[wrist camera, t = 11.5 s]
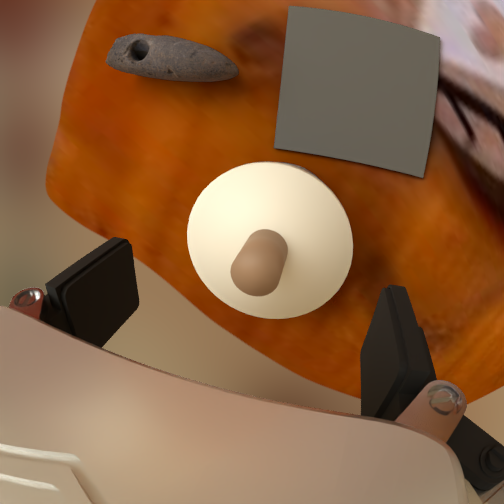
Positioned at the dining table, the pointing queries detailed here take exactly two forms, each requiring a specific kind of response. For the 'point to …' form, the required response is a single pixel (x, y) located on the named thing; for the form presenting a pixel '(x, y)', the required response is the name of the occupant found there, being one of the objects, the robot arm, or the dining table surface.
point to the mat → (357, 89)
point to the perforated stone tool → (169, 59)
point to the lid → (270, 240)
